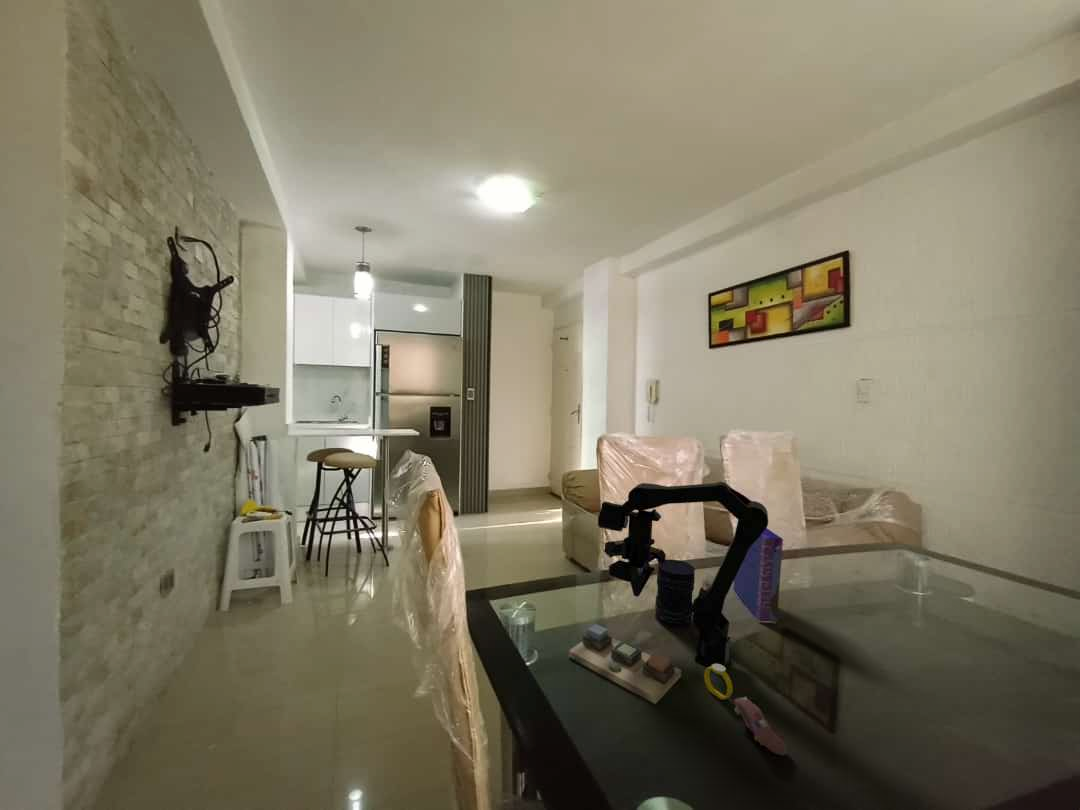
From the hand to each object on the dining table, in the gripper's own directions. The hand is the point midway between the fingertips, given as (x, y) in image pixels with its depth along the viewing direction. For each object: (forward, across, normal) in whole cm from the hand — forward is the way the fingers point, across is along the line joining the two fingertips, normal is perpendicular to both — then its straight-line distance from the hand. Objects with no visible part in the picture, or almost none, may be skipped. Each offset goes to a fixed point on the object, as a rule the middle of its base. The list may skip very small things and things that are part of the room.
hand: (636, 595), depth 114 cm
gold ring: (+11, +6, +23) cm, 26 cm away
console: (+11, +12, +4) cm, 17 cm away
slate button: (+8, +11, -4) cm, 14 cm away
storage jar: (+11, -16, +3) cm, 20 cm away
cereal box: (+11, -40, +17) cm, 45 cm away
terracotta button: (+8, +11, +12) cm, 18 cm away
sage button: (+9, +11, +4) cm, 15 cm away
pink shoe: (+11, +12, +33) cm, 37 cm away
